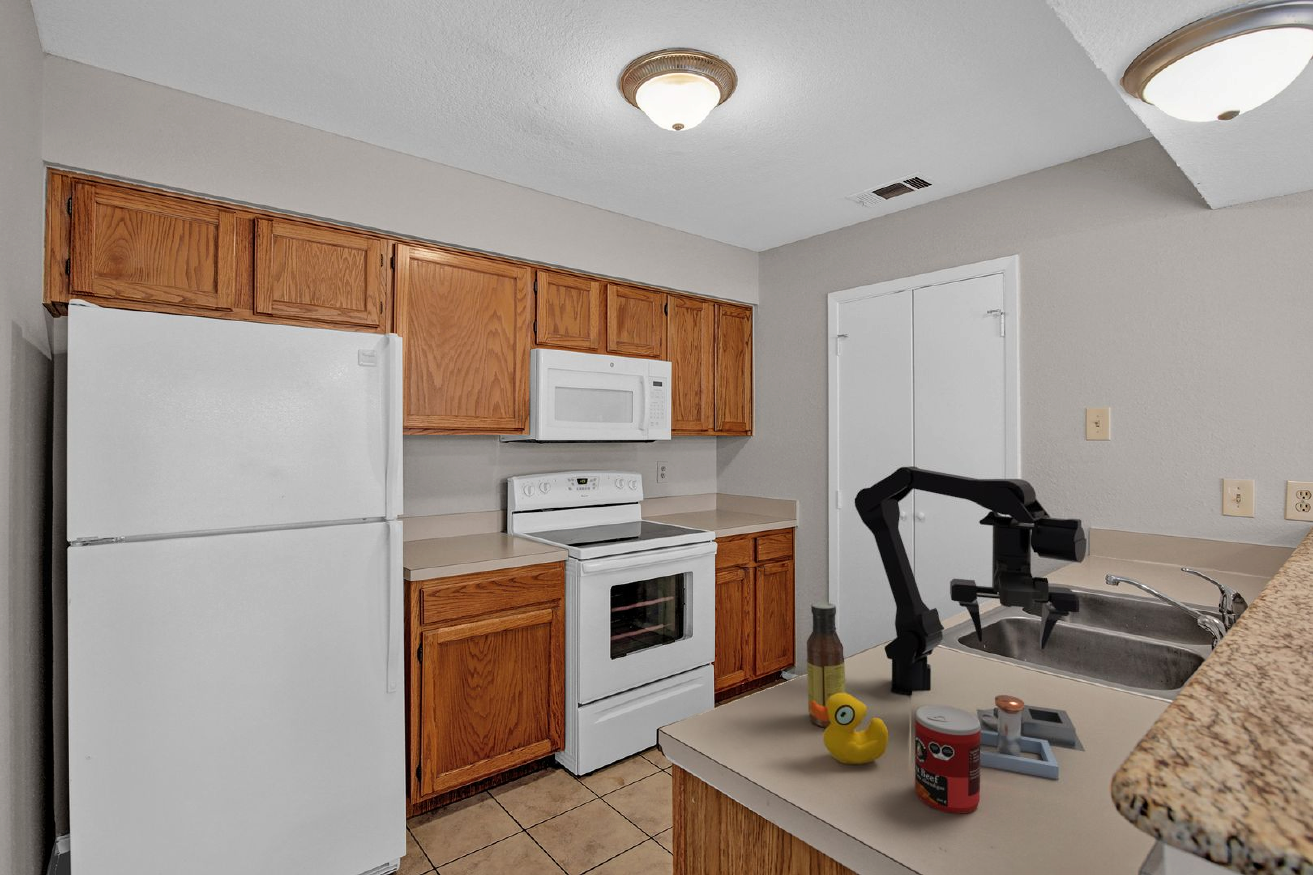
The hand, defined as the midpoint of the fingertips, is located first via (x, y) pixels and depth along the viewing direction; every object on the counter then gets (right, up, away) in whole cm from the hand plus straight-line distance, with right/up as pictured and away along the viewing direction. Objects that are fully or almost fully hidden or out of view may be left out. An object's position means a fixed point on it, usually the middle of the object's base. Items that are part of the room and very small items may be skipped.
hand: (1010, 644), depth 109 cm
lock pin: (-8, -13, -13) cm, 20 cm away
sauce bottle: (-31, -13, 0) cm, 34 cm away
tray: (-8, -13, -13) cm, 20 cm away
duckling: (-31, -13, -13) cm, 36 cm away
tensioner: (0, -13, -4) cm, 14 cm away
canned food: (-21, -14, -23) cm, 34 cm away
